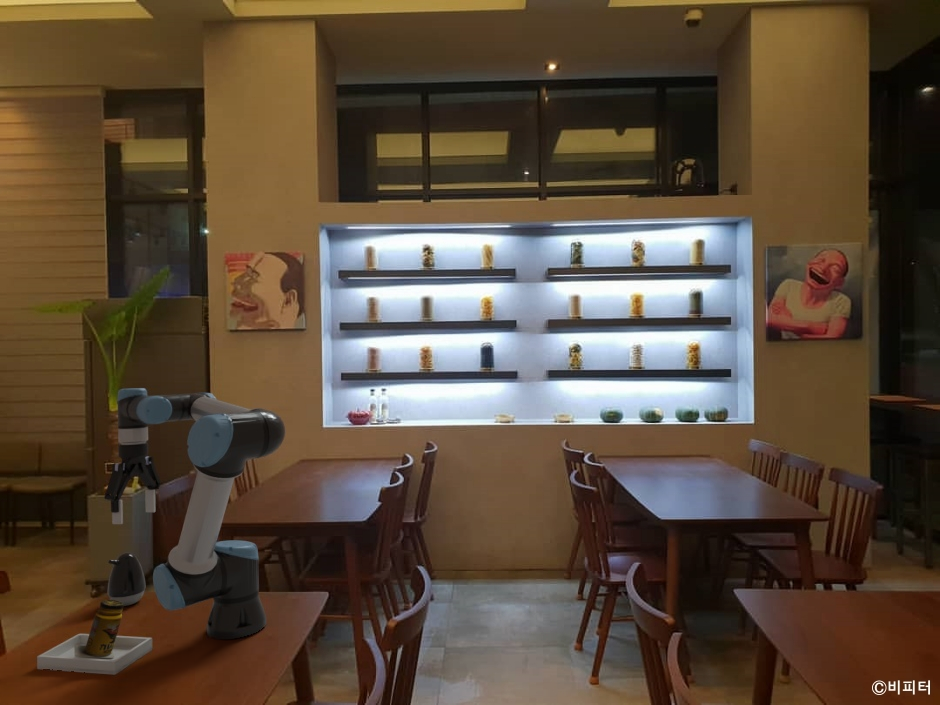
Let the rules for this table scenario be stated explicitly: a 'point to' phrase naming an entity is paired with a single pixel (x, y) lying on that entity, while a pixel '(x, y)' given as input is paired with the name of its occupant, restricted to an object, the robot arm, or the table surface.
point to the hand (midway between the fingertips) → (134, 517)
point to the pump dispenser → (126, 579)
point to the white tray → (65, 659)
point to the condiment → (102, 631)
